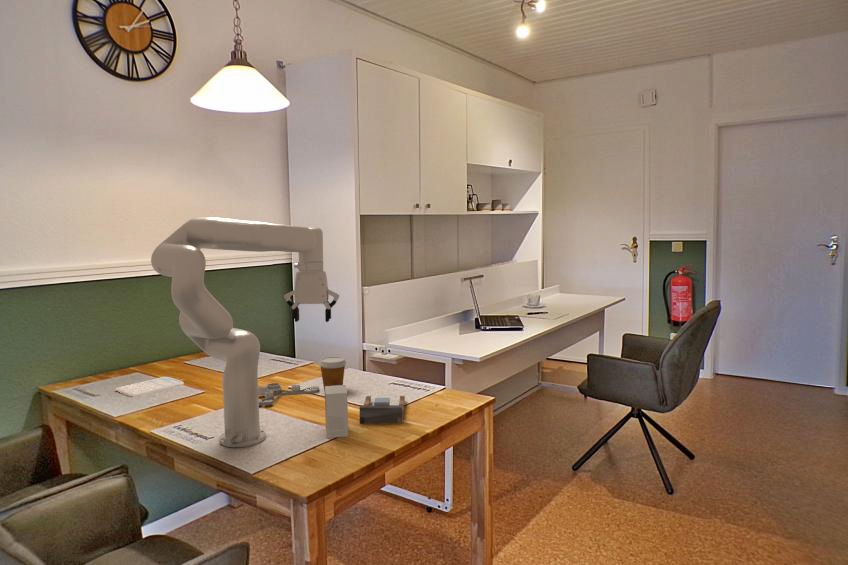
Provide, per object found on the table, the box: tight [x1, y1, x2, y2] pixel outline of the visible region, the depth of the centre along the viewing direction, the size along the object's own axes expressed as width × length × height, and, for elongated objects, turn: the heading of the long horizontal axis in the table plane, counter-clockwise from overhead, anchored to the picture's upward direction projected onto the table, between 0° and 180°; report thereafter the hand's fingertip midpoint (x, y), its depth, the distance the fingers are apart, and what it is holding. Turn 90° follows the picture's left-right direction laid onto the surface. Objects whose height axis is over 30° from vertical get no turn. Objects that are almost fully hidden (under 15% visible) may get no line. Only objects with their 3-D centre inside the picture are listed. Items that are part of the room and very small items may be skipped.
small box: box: [324, 384, 349, 439], centre depth 170 cm, size 8×6×13 cm
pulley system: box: [258, 382, 320, 406], centre depth 206 cm, size 27×5×15 cm
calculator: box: [115, 376, 185, 397], centre depth 216 cm, size 13×20×2 cm, turn 142°
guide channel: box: [359, 395, 406, 425], centre depth 188 cm, size 21×13×5 cm, turn 0°
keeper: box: [373, 397, 391, 405], centre depth 182 cm, size 4×4×6 cm
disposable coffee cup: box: [318, 356, 347, 393], centre depth 209 cm, size 10×10×12 cm
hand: (312, 321), depth 184 cm, fingers open, 9 cm apart
